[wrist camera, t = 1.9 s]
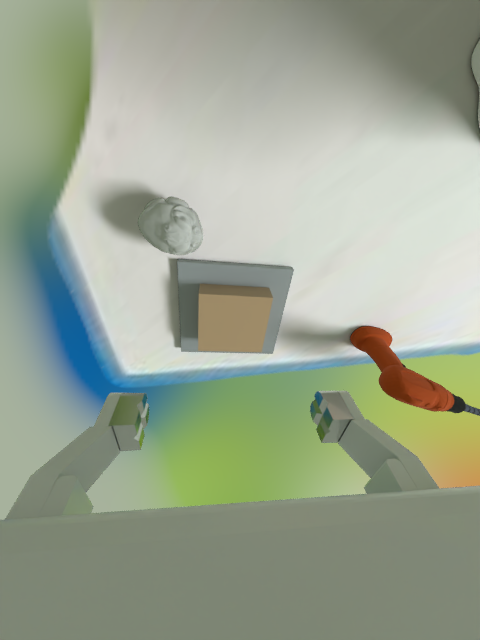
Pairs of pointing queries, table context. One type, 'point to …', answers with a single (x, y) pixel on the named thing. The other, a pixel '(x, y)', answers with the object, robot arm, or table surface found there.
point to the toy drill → (405, 375)
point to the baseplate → (229, 277)
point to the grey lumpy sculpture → (171, 226)
